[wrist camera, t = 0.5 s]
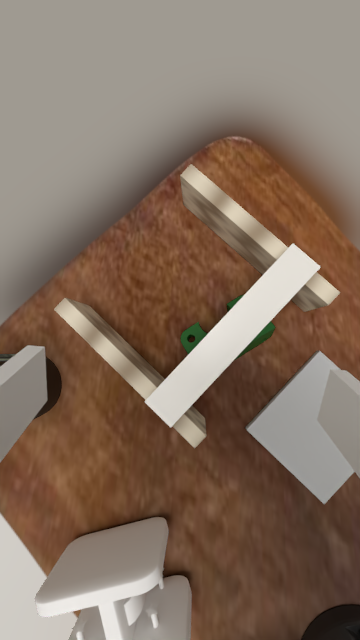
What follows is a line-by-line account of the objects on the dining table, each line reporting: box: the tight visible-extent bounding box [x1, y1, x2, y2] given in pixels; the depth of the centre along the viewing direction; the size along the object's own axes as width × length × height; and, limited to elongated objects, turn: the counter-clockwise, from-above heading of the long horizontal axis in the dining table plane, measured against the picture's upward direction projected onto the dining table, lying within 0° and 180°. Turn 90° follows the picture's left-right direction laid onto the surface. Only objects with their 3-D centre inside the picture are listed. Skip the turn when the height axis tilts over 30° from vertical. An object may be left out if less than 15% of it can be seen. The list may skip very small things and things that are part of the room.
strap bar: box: [145, 244, 320, 428], centre depth 34 cm, size 4×24×2 cm, turn 137°
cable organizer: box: [35, 517, 192, 640], centre depth 36 cm, size 15×11×12 cm
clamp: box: [181, 295, 275, 360], centre depth 41 cm, size 12×6×9 cm, turn 116°
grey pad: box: [245, 351, 355, 504], centre depth 41 cm, size 14×15×1 cm
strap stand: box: [54, 164, 340, 448], centre depth 40 cm, size 24×25×8 cm
